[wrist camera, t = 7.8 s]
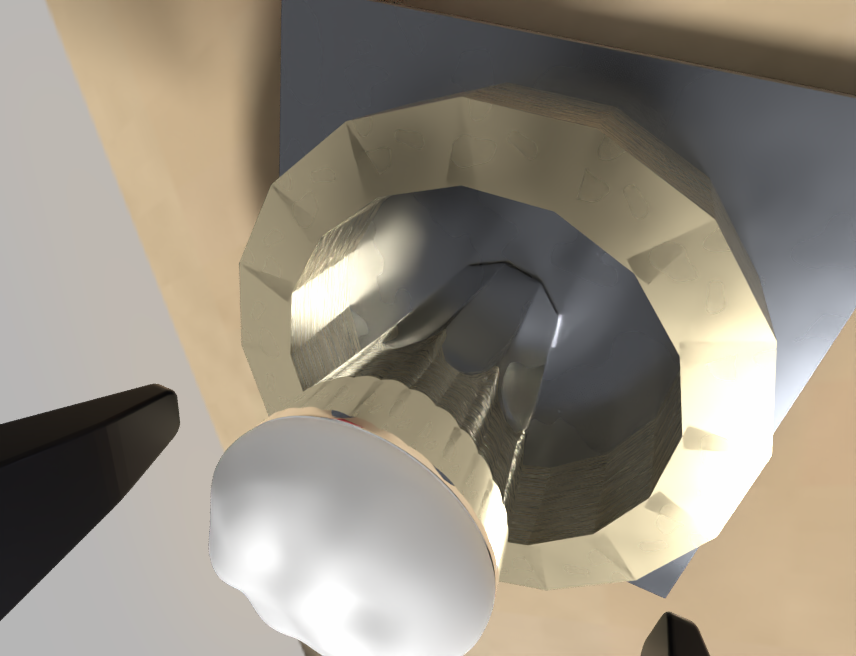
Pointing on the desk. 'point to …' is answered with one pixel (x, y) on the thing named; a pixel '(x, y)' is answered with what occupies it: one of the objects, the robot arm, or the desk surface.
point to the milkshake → (392, 478)
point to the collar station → (565, 255)
